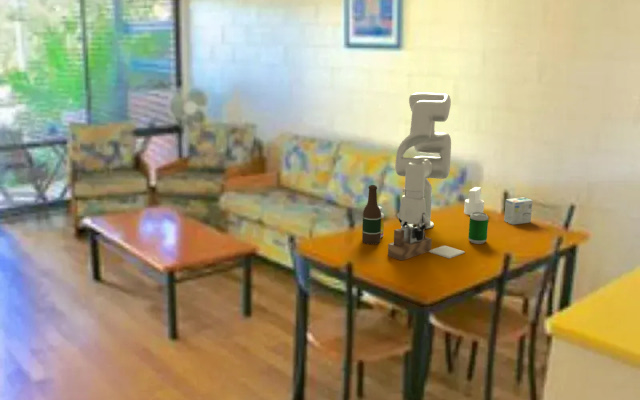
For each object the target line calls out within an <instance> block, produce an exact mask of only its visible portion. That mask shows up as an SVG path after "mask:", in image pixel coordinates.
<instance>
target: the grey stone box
mask: <svg viewBox="0 0 640 400" xmlns="http://www.w3.org/2000/svg"><path fill="white" fill-rule="evenodd" d="M420 227H421V225H420ZM400 229H401V230H404V243H407V244H413V243H416V242H419V241H422V240H423V239H422V240H419V241H417V240H416V237H417V231H418V228H417V225H416V224H409V225H405V226H401V227H400ZM424 232H425V230H423V237H424Z"/></svg>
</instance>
